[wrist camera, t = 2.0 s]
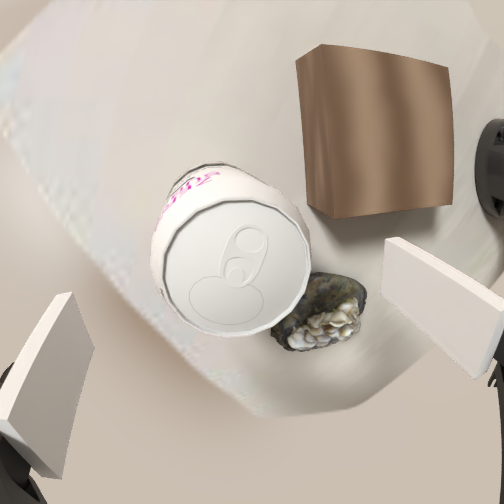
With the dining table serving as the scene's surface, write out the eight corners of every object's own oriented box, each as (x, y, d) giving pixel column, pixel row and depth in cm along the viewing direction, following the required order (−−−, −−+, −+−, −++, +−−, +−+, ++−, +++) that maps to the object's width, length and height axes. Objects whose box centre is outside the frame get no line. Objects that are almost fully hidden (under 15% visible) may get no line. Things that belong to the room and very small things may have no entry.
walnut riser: (411, 73, 26) (447, 67, 21) (416, 192, 32) (452, 204, 26) (295, 60, 24) (321, 44, 19) (307, 203, 29) (334, 219, 24)
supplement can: (239, 258, 30) (284, 357, 16) (156, 234, 28) (131, 326, 14) (269, 178, 28) (348, 218, 14) (183, 149, 25) (176, 157, 12)
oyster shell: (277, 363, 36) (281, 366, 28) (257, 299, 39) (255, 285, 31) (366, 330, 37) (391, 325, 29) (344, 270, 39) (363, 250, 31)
